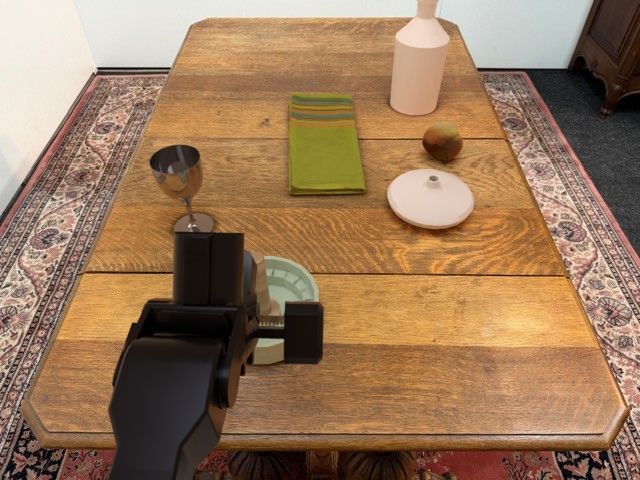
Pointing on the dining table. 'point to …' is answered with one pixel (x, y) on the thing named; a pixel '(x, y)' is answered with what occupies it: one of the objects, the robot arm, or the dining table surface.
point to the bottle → (419, 62)
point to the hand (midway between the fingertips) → (248, 317)
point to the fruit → (442, 141)
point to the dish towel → (323, 145)
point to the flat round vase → (430, 198)
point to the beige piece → (264, 289)
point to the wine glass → (181, 182)
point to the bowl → (284, 286)
